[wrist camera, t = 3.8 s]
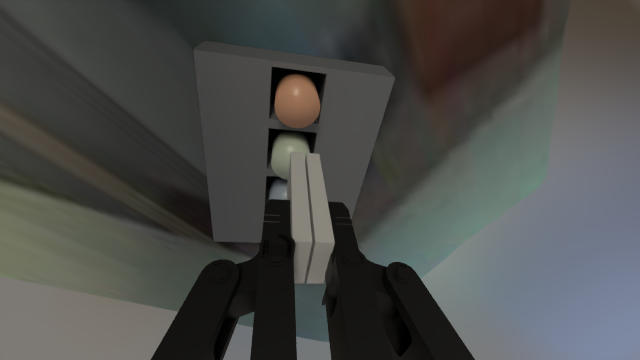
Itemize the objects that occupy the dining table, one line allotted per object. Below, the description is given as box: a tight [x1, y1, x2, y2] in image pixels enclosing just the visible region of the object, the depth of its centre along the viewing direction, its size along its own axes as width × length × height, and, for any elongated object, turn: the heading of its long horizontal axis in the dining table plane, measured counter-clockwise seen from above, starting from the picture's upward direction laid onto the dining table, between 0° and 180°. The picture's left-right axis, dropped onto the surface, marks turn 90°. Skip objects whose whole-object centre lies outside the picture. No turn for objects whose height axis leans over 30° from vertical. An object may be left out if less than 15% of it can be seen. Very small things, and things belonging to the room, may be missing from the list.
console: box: [193, 40, 395, 243], centre depth 33 cm, size 18×24×4 cm
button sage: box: [271, 130, 310, 180], centre depth 29 cm, size 4×4×4 cm
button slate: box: [269, 177, 288, 200], centre depth 33 cm, size 4×4×4 cm
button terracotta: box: [275, 72, 320, 128], centre depth 26 cm, size 4×4×4 cm
